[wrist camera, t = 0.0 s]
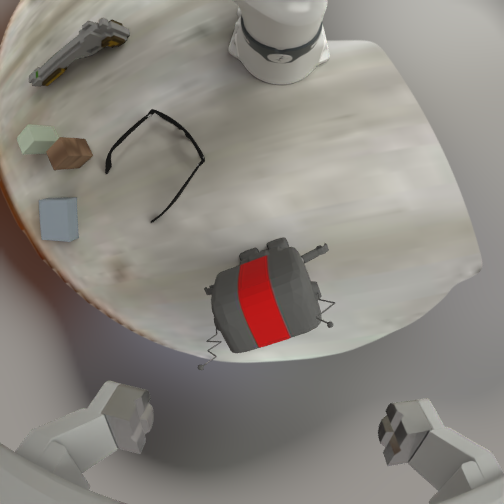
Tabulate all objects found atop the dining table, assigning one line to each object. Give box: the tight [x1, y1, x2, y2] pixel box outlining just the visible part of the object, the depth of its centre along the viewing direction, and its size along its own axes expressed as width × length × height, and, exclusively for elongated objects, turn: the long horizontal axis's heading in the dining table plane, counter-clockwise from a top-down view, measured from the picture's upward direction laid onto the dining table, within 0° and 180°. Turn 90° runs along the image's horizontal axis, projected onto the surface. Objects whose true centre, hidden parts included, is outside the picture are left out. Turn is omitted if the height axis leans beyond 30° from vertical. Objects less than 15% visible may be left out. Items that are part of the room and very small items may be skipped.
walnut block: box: [46, 137, 93, 170], centre depth 49 cm, size 4×4×9 cm
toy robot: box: [198, 238, 335, 370], centre depth 43 cm, size 22×9×30 cm, turn 112°
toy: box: [29, 18, 130, 86], centre depth 44 cm, size 6×24×10 cm, turn 104°
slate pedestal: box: [39, 197, 79, 242], centre depth 56 cm, size 9×9×4 cm
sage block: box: [17, 124, 59, 155], centre depth 48 cm, size 4×4×9 cm
